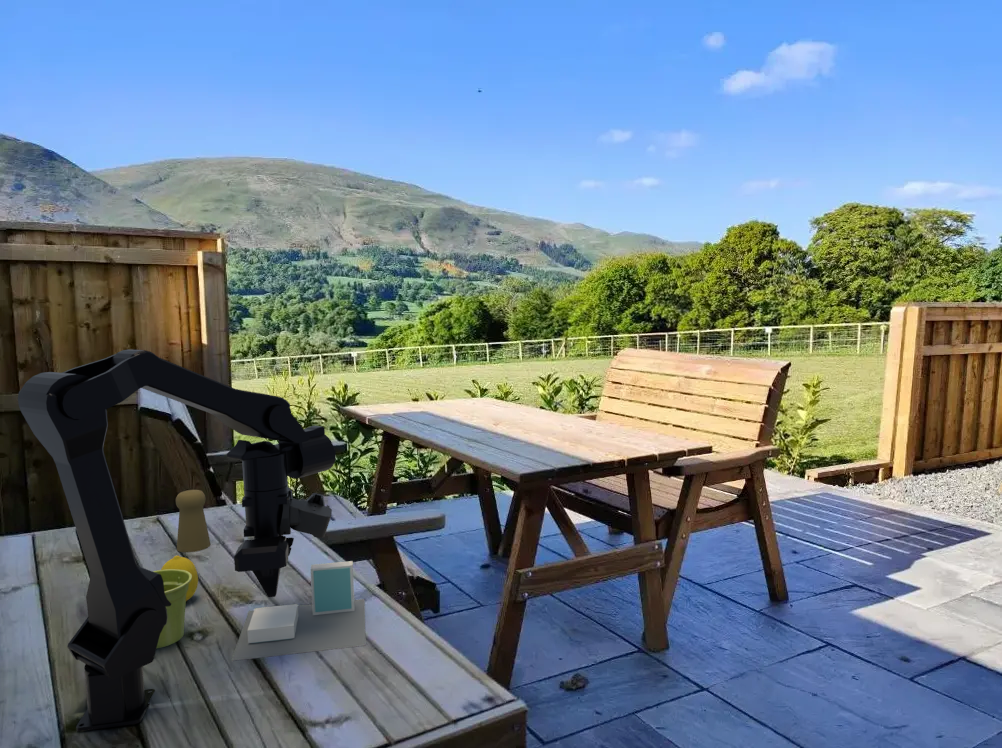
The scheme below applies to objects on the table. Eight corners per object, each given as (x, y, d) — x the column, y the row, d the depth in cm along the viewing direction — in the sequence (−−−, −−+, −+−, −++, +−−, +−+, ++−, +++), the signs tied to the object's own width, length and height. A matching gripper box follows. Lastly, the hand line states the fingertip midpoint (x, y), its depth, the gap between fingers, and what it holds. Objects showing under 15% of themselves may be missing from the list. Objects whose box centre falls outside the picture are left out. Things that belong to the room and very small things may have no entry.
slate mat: (365, 649, 93) (365, 645, 93) (231, 665, 90) (231, 660, 90) (364, 602, 108) (364, 598, 108) (249, 614, 104) (248, 610, 104)
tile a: (298, 617, 102) (294, 639, 95) (255, 621, 101) (248, 644, 94) (297, 603, 102) (293, 625, 95) (254, 608, 100) (247, 630, 93)
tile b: (354, 611, 103) (352, 565, 102) (312, 615, 102) (310, 569, 101) (354, 605, 105) (352, 560, 104) (313, 610, 104) (311, 564, 103)
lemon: (184, 614, 105) (181, 563, 104) (152, 612, 106) (148, 561, 105) (207, 599, 110) (203, 550, 109) (176, 597, 111) (172, 548, 110)
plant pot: (112, 664, 90) (106, 600, 90) (129, 631, 99) (125, 573, 99) (189, 653, 93) (185, 591, 92) (200, 622, 102) (196, 565, 101)
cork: (176, 544, 136) (172, 489, 135) (210, 539, 138) (206, 485, 137) (176, 554, 130) (172, 497, 129) (211, 549, 133) (207, 492, 132)
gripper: (323, 500, 88) (329, 619, 89) (329, 466, 106) (333, 565, 107) (230, 507, 85) (237, 629, 87) (252, 471, 104) (258, 572, 105)
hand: (272, 596), depth 97 cm, fingers closed
